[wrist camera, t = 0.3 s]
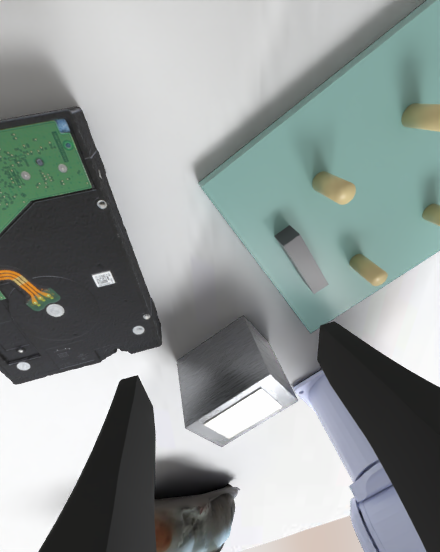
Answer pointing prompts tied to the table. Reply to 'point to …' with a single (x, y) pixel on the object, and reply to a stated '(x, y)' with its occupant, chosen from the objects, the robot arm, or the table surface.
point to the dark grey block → (232, 384)
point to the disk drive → (64, 253)
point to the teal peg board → (345, 177)
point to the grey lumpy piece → (194, 521)
